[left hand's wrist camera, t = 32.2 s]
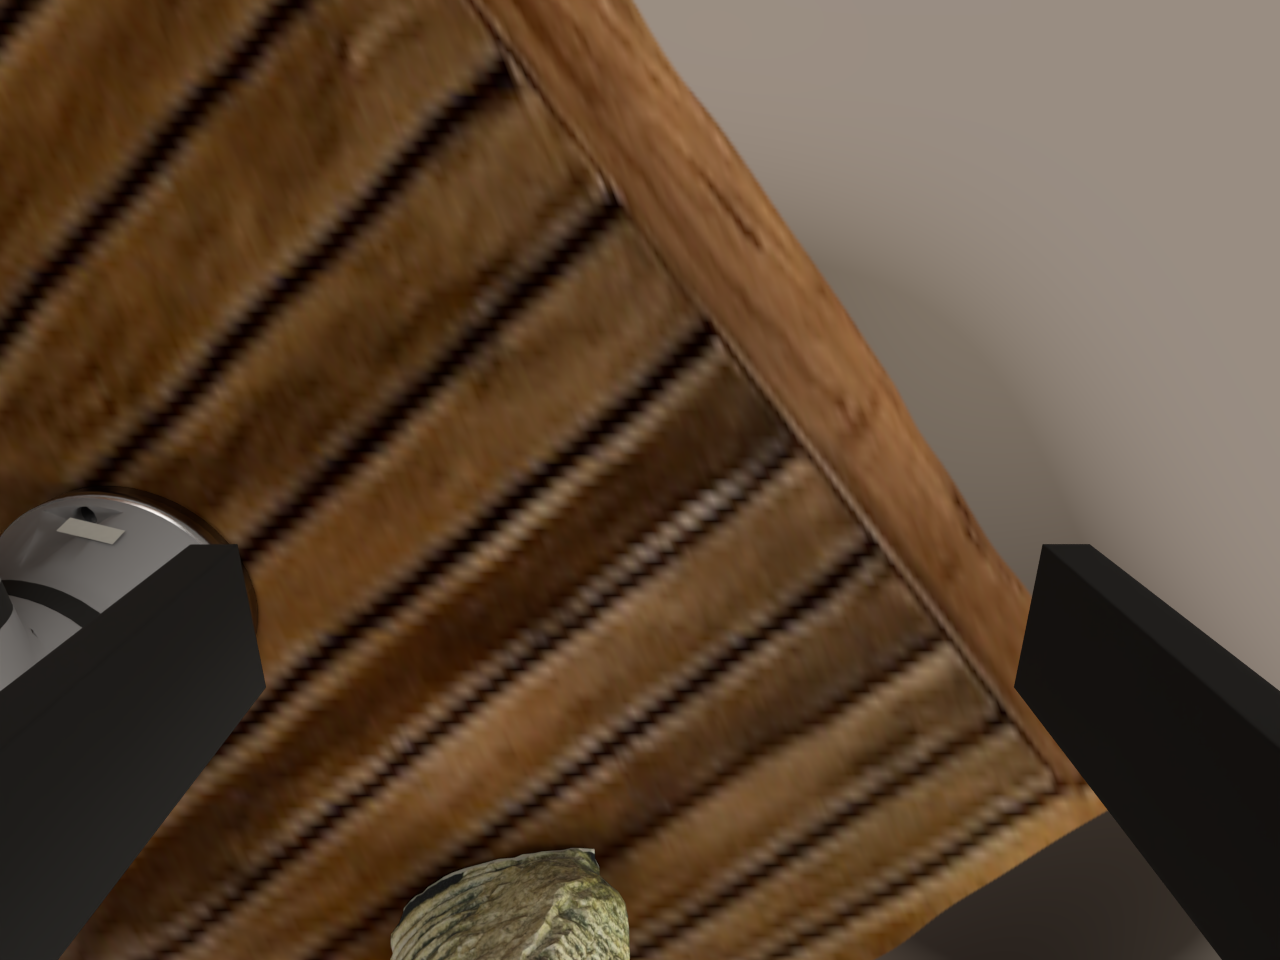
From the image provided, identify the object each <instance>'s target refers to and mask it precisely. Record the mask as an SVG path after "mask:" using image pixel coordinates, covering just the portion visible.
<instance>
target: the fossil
mask: <svg viewBox="0 0 1280 960" xmlns="http://www.w3.org/2000/svg"><path fill="white" fill-rule="evenodd" d="M599 870H600V869H599V866H598V864H597V862H596V860H595V850H594V849H584V848H570V849H566V850H556V851H543V852H537V853H532V854H522V855H520V856H518V857H515V858H505V859H497V860H493V861H490V862H486V863H482V864H479V865H475V866H472V867H468V868H465V869H462V870H459V871H456V872H453V873H451V874H449V875H447V876H445V877H443V878H442V879H440V880H439V881H437V882H436V883H434V884H432V885H431V886H429V887H428V888H427V889H426V890H425V891H424V892H423V893H421V894H419V895H417V896H415V897H414V898H413V899H412V900H411V901H410V902H409V903H408V904H407V905H406V906H405V908H404V911H403V915H402V917H401V920H400V922H399V924H398V925H397V927H396V928H395V930H394V931H393V932H392V934H391V948H392V952H393V955H392V957H391V960H630V950H629V925H628V915H627V911H626V906H625V902H624V900H623V898H622V897H621V895H620V894H619V892H618V891H617V890H615V889H614V888H613V887H612V886H610V885H609V884H608V883H607V882H606V881H605V880H604V879H603V878H602V877H601V876H600V875H599Z"/></svg>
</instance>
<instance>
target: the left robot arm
mask: <svg viewBox="0 0 1280 960" xmlns="http://www.w3.org/2000/svg"><path fill="white" fill-rule="evenodd" d="M257 625H258V608H257V600H256V596H255V592H254V588H253V585H252V582H251V580H250V577H249V575H248V573H247V571H246V569H245V567H244V565H243V564H242V562H241V560H240V555H239V550H238V545H237V544H228V543H227V541H226V540H225V539H224V538H223V537H222V536H221V535H220V534H219V533H218V532H217V531H216V530H215V529H214V528H213V527H211V526H210V525H209V524H208V523H207V522H205V521H204V520H203V519H201V518H200V517H199V516H197V515H196V514H194V513H193V512H191V511H189V510H188V509H186V508H185V507H183V506H181V505H179V504H177V503H175V502H173V501H171V500H168V499H166V498H164V497H161V496H159V495H156V494H153V493H149V492H146V491H142V490H138V489H133V488H127V487H118V486H95V487H86V488H81V489H77V490H72V491H70V492H67V493H64V494H61V495H59V496H57V497H55V498H53V499H51V500H49V501H47V502H45V503H43V504H41V505H39V506H37V507H35V508H33V509H31V510H29V511H28V512H26V513H25V514H23V515H21V516H20V517H19V518H18V519H16V520H15V521H14V522H13V523H12V524H11V525H10V526H9V527H8V528H7V529H6V530H5V531H4V533H3V534H2V535H1V537H0V960H58V959H59V958H60V956H61V955H62V954H63V952H64V951H65V950H66V949H67V947H68V946H69V945H70V943H71V942H72V941H73V939H74V938H75V937H76V935H77V934H78V933H79V932H80V930H81V929H82V928H83V926H84V925H85V924H86V922H87V921H88V920H89V918H90V917H91V916H92V914H93V913H94V912H95V911H96V909H97V908H98V907H99V905H100V904H101V903H102V901H103V900H104V899H105V897H106V896H107V895H108V894H109V892H110V891H111V890H112V888H113V887H114V886H115V884H116V883H117V882H118V880H119V879H120V878H121V876H122V875H123V874H124V873H125V871H126V870H127V869H128V867H129V866H130V865H131V863H132V862H133V861H134V859H135V858H136V857H137V856H138V854H139V853H140V852H141V850H142V849H143V848H144V846H145V845H146V844H147V842H148V841H149V840H150V838H151V837H152V836H153V835H154V833H155V832H156V831H157V829H158V828H159V827H160V825H161V824H162V823H163V821H164V820H165V819H166V818H167V816H168V815H169V814H170V812H171V811H172V810H173V808H174V807H175V806H176V804H177V803H178V802H179V800H180V799H181V798H182V797H183V795H184V794H185V793H186V791H187V790H188V789H189V787H190V786H191V785H192V783H193V782H194V781H195V779H196V778H197V777H198V776H199V774H200V773H201V772H202V770H203V769H204V768H205V766H206V765H207V764H208V762H209V761H210V760H211V759H212V757H213V756H214V755H215V753H216V752H217V751H218V749H219V748H220V747H221V745H222V744H223V743H224V741H225V740H226V739H227V738H228V736H229V735H230V734H231V732H232V731H233V730H234V728H235V727H236V726H237V724H238V723H239V722H240V721H241V719H242V718H243V717H244V715H245V714H246V713H247V711H248V710H249V709H250V707H251V706H252V705H253V703H254V702H255V701H256V700H257V698H258V697H259V696H260V694H261V693H262V692H263V690H264V689H265V688H266V685H265V680H264V675H263V670H262V665H261V660H260V655H259V650H258V645H257V640H256V633H257ZM1014 688H1015V689H1016V690H1017V692H1018V693H1019V694H1020V696H1021V697H1022V698H1023V700H1024V701H1025V702H1026V703H1027V705H1028V706H1029V707H1030V709H1031V710H1032V711H1033V713H1034V714H1035V715H1036V717H1037V718H1038V719H1039V721H1040V722H1041V723H1042V724H1043V726H1044V727H1045V728H1046V730H1047V731H1048V732H1049V734H1050V735H1051V736H1052V738H1053V739H1054V740H1055V741H1056V743H1057V744H1058V745H1059V747H1060V748H1061V749H1062V751H1063V752H1064V753H1065V755H1066V756H1067V757H1068V759H1069V760H1070V761H1071V762H1072V764H1073V765H1074V766H1075V768H1076V769H1077V770H1078V772H1079V773H1080V774H1081V776H1082V777H1083V778H1084V779H1085V781H1086V782H1087V783H1088V785H1089V786H1090V787H1091V789H1092V790H1093V791H1094V793H1095V794H1096V795H1097V797H1098V798H1099V799H1100V800H1101V802H1102V803H1103V804H1104V806H1105V807H1106V808H1107V810H1108V811H1109V812H1110V814H1111V815H1112V816H1113V818H1114V819H1115V820H1116V821H1117V823H1118V824H1119V825H1120V827H1121V828H1122V829H1123V831H1124V832H1125V833H1126V835H1127V836H1128V837H1129V838H1130V840H1131V841H1132V842H1133V844H1134V845H1135V846H1136V848H1137V849H1138V850H1139V852H1140V853H1141V854H1142V855H1143V857H1144V858H1145V859H1146V861H1147V862H1148V863H1149V865H1150V866H1151V867H1152V869H1153V870H1154V871H1155V873H1156V874H1157V875H1158V876H1159V878H1160V879H1161V880H1162V882H1163V883H1164V884H1165V886H1166V887H1167V888H1168V890H1169V891H1170V892H1171V894H1172V895H1173V896H1174V897H1175V899H1176V900H1177V901H1178V903H1179V904H1180V905H1181V907H1182V908H1183V909H1184V910H1185V912H1186V913H1187V914H1188V916H1189V917H1190V918H1191V920H1192V921H1193V922H1194V924H1195V925H1196V926H1197V928H1198V929H1199V930H1200V932H1201V933H1202V934H1203V935H1204V937H1205V938H1206V939H1207V941H1208V942H1209V943H1210V945H1211V946H1212V947H1213V949H1214V950H1215V951H1216V952H1217V954H1218V955H1219V956H1220V958H1221V959H1222V960H1280V691H1279V690H1278V689H1276V688H1275V687H1274V686H1272V685H1271V684H1270V683H1269V682H1267V681H1266V680H1265V679H1263V678H1262V677H1261V676H1259V675H1258V674H1257V673H1256V672H1254V671H1253V670H1252V669H1250V668H1249V667H1248V666H1247V665H1245V664H1244V663H1243V662H1241V661H1240V660H1239V659H1237V658H1236V657H1235V656H1234V655H1232V654H1231V653H1230V652H1228V651H1227V650H1226V649H1225V648H1223V647H1222V646H1221V645H1219V644H1218V643H1217V642H1215V641H1214V640H1213V639H1211V638H1210V637H1209V636H1208V635H1206V634H1205V633H1204V632H1202V631H1201V630H1200V629H1199V628H1197V627H1196V626H1195V625H1193V624H1192V623H1191V622H1190V621H1188V620H1187V619H1186V618H1184V617H1183V616H1182V615H1180V614H1179V613H1178V612H1177V611H1175V610H1174V609H1173V608H1171V607H1170V606H1169V605H1168V604H1166V603H1165V602H1164V601H1162V600H1161V599H1160V598H1158V597H1157V596H1156V595H1155V594H1153V593H1152V592H1151V591H1149V590H1148V589H1147V588H1146V587H1144V586H1143V585H1142V584H1140V583H1139V582H1138V581H1136V580H1135V579H1134V578H1133V577H1131V576H1130V575H1129V574H1127V573H1126V572H1125V571H1123V570H1122V569H1121V568H1120V567H1118V566H1117V565H1116V564H1114V563H1113V562H1112V561H1111V560H1109V559H1108V558H1107V557H1105V556H1104V555H1103V554H1102V553H1100V552H1099V551H1098V550H1096V549H1095V548H1094V547H1092V546H1091V545H1090V544H1043V545H1042V550H1041V555H1040V560H1039V565H1038V570H1037V575H1036V580H1035V585H1034V590H1033V595H1032V600H1031V605H1030V610H1029V615H1028V620H1027V625H1026V630H1025V635H1024V640H1023V645H1022V650H1021V655H1020V660H1019V665H1018V670H1017V675H1016V680H1015V685H1014Z"/></svg>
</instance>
